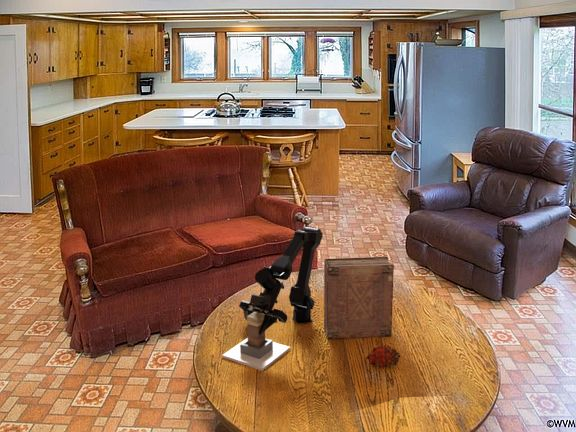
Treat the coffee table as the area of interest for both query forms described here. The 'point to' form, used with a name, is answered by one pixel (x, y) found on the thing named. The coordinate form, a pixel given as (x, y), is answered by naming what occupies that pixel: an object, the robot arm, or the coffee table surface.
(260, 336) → the walnut post
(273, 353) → the plate
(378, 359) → the dragon fruit
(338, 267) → the book
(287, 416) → the coffee table surface
